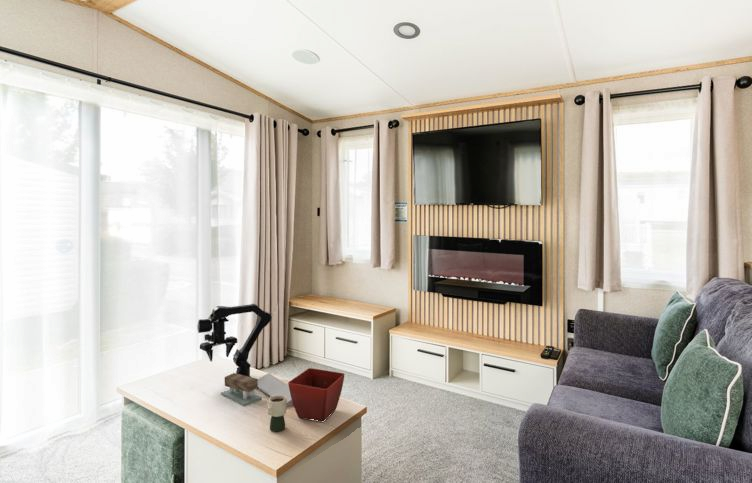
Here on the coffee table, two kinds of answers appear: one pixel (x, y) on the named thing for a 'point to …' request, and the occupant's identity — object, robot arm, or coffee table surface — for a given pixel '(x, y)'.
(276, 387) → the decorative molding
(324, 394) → the plant pot
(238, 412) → the coffee table surface
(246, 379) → the walnut shelf board
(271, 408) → the character mug
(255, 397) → the peg base
